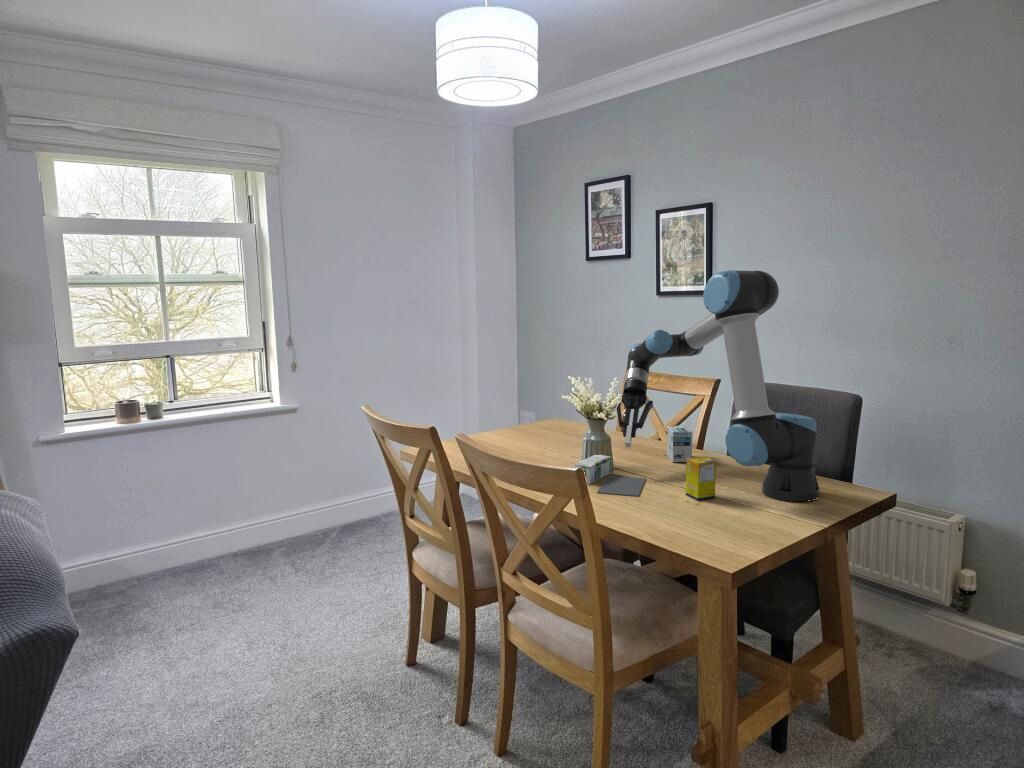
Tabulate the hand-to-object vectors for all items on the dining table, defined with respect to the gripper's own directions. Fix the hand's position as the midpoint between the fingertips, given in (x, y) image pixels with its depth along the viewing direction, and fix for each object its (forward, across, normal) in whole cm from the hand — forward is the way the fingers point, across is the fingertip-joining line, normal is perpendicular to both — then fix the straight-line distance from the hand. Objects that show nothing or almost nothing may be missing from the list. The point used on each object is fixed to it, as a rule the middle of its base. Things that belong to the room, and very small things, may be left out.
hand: (627, 445), depth 212 cm
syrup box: (+3, +8, -7) cm, 11 cm away
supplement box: (+18, -23, +4) cm, 29 cm away
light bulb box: (-11, -14, -26) cm, 31 cm away
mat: (+15, 0, +1) cm, 15 cm away
